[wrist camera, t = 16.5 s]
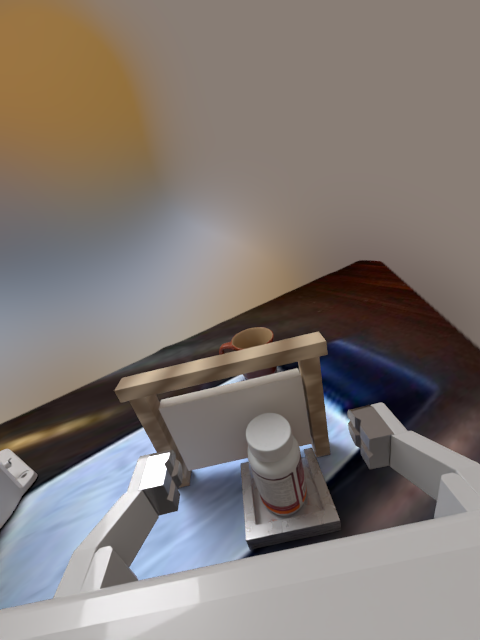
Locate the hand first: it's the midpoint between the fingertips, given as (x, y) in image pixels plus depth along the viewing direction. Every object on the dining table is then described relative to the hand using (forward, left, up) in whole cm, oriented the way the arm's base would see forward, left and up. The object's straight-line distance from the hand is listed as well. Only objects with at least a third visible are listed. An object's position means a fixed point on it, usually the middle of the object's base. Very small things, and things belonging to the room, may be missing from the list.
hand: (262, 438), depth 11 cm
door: (-15, +10, -22) cm, 28 cm away
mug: (-26, +25, -25) cm, 44 cm away
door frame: (-14, +9, -25) cm, 30 cm away
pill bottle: (-8, +8, -25) cm, 27 cm away
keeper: (-8, +9, -25) cm, 27 cm away
